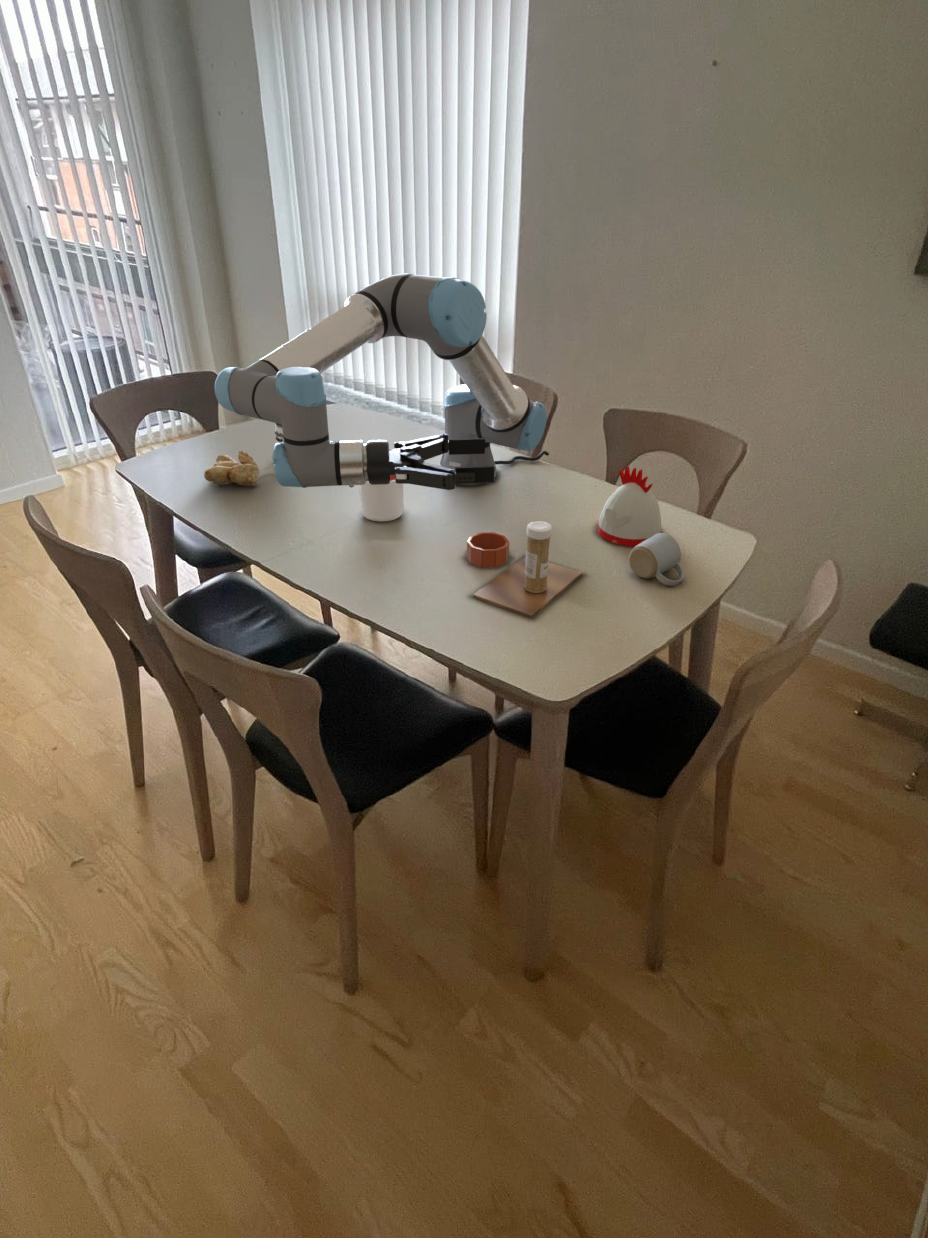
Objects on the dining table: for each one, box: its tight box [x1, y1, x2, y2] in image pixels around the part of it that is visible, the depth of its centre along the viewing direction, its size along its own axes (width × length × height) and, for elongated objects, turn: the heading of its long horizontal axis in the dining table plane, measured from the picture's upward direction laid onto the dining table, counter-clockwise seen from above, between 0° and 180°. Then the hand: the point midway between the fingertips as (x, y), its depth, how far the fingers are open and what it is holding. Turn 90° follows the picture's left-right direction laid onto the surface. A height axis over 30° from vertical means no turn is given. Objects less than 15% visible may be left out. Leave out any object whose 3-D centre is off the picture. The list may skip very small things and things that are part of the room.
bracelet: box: [466, 531, 510, 569], centre depth 155 cm, size 8×9×4 cm
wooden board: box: [472, 555, 583, 619], centre depth 146 cm, size 20×13×1 cm, turn 145°
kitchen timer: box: [597, 465, 662, 547], centre depth 163 cm, size 14×14×15 cm
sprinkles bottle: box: [524, 520, 553, 593], centre depth 140 cm, size 5×5×13 cm
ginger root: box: [203, 450, 260, 487], centre depth 188 cm, size 16×16×8 cm
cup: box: [358, 475, 405, 523], centre depth 171 cm, size 10×10×10 cm
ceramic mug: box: [628, 532, 685, 587], centre depth 148 cm, size 11×8×8 cm
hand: (489, 459), depth 129 cm, fingers open, 13 cm apart
